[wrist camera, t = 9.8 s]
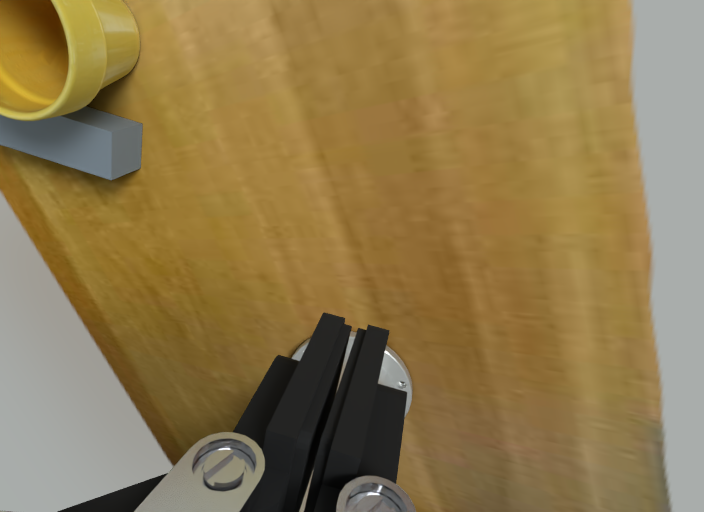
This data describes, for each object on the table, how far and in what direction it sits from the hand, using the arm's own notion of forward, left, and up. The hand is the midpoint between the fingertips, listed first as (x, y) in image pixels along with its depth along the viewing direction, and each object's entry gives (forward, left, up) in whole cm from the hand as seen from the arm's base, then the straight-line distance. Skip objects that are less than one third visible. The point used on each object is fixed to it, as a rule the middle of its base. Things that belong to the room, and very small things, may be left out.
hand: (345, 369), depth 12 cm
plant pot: (+1, +27, -28) cm, 38 cm away
